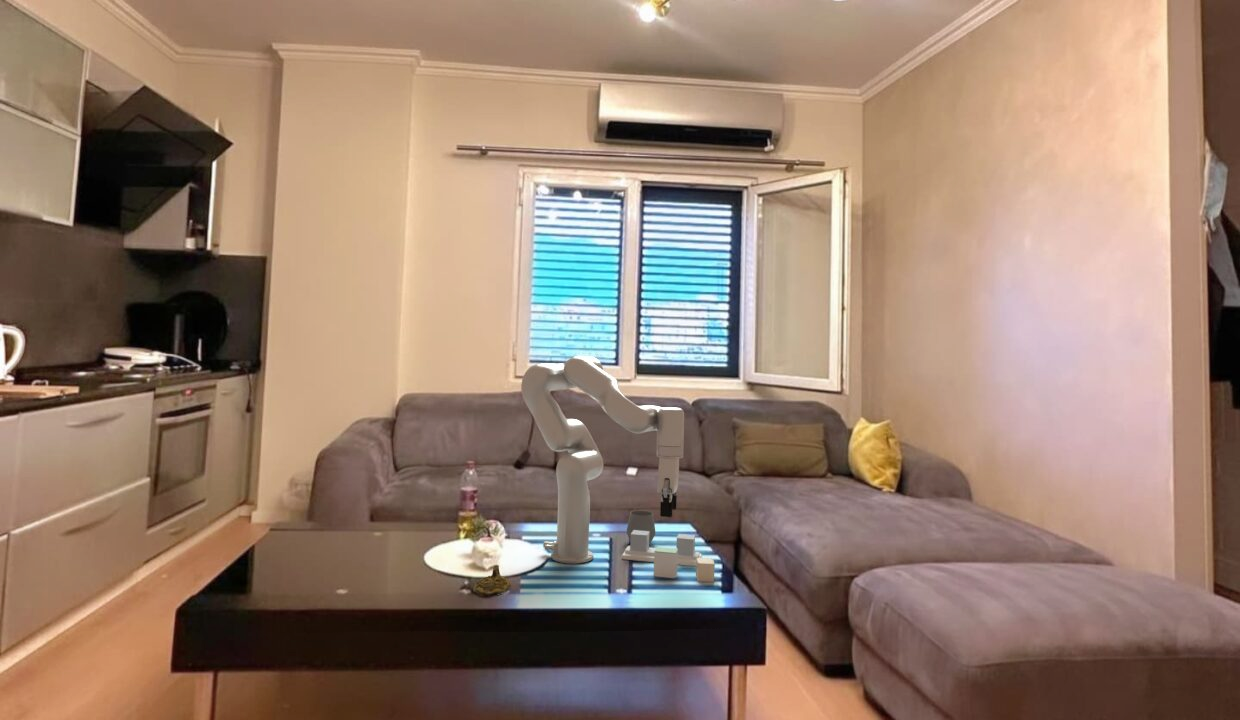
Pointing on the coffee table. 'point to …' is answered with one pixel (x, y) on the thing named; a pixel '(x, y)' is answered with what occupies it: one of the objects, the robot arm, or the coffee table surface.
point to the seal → (492, 584)
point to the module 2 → (705, 569)
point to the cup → (641, 523)
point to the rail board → (643, 553)
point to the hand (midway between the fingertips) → (668, 512)
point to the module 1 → (665, 562)
